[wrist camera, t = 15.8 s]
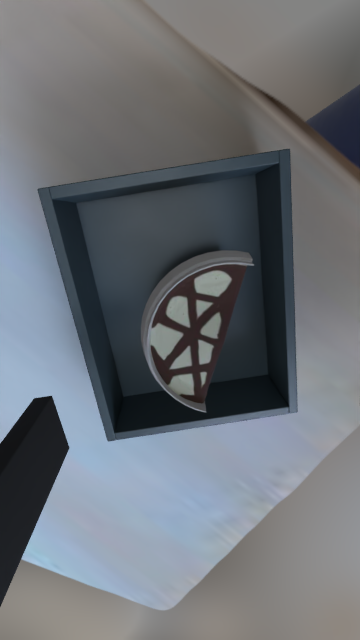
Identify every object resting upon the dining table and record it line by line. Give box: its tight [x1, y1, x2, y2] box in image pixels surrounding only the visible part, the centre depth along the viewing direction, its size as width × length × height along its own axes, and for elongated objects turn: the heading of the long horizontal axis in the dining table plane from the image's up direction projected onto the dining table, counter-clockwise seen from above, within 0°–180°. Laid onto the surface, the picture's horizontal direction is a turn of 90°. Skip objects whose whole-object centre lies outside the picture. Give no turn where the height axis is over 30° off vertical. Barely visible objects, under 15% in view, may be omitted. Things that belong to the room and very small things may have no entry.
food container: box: [141, 250, 254, 413], centre depth 25 cm, size 12×6×10 cm, turn 166°
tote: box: [38, 149, 297, 441], centre depth 28 cm, size 18×22×7 cm
